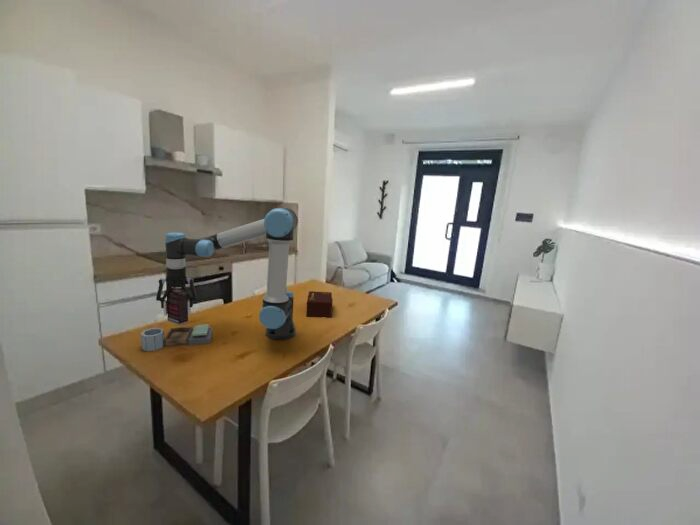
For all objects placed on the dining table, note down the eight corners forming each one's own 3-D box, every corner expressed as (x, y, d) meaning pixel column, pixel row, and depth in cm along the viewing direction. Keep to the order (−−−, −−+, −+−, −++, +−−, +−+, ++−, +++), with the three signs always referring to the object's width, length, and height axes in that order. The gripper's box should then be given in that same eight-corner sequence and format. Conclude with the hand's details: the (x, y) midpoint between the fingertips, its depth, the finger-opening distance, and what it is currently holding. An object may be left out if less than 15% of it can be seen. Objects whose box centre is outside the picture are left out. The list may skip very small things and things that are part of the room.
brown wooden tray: (192, 332, 150) (192, 326, 149) (188, 344, 137) (187, 338, 136) (171, 333, 146) (170, 327, 146) (164, 346, 134) (163, 340, 133)
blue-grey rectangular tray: (212, 332, 151) (212, 327, 150) (210, 343, 140) (209, 338, 139) (192, 333, 148) (192, 328, 147) (188, 344, 137) (188, 339, 136)
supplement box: (188, 322, 140) (188, 290, 137) (179, 325, 136) (178, 292, 133) (176, 318, 144) (175, 286, 141) (167, 321, 140) (165, 288, 137)
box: (333, 318, 181) (334, 302, 179) (306, 317, 180) (306, 301, 178) (332, 306, 202) (333, 292, 200) (308, 305, 200) (308, 290, 198)
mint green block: (209, 330, 149) (208, 324, 149) (206, 339, 140) (206, 332, 139) (195, 331, 147) (195, 325, 147) (192, 340, 138) (192, 333, 137)
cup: (166, 341, 138) (165, 327, 137) (161, 350, 131) (160, 335, 129) (145, 343, 136) (144, 328, 134) (140, 351, 128) (139, 336, 127)
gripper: (203, 265, 142) (204, 310, 146) (150, 264, 135) (152, 312, 139) (201, 269, 135) (202, 316, 139) (145, 268, 128) (148, 318, 132)
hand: (177, 314), depth 139 cm, fingers closed on supplement box, 9 cm apart
